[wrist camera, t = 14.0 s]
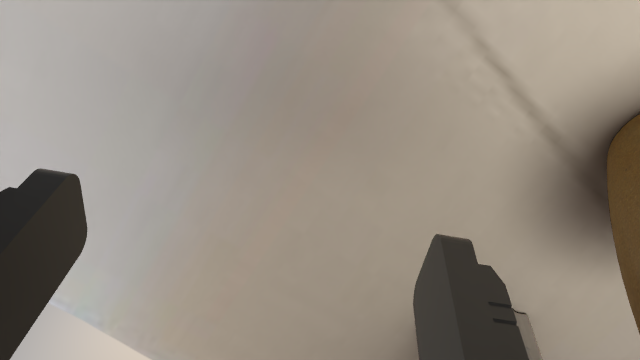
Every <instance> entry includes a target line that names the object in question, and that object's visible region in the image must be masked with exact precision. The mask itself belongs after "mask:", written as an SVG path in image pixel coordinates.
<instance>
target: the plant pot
mask: <svg viewBox="0 0 640 360" xmlns="http://www.w3.org/2000/svg"><path fill="white" fill-rule="evenodd" d="M607 189H608V201H609V211H610V219H611V225H612V231H613V238H614V243H615V248H616V253H617V258H618V262H619V266H620V270H621V274H622V278H623V282H624V285H625V289H626V292H627V296H628V300H629V303H630V306H631V309H632V312H633V315H634V318H635V321H636V324H637V327H638V330H639V333H640V114H639V115H638V116H636V117H634V118H633V119H632V120H630V121H629V122H628V123H627V124H626V125H625V126H623V127H622V129H621V130H620V131H619V132H618V133H617V134H616V136H615V137H614V139H613V141H612V143H611V145H610V147H609V151H608V155H607Z"/></svg>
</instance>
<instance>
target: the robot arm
mask: <svg viewBox="0 0 640 360" xmlns="http://www.w3.org/2000/svg"><path fill="white" fill-rule="evenodd" d="M86 237H87V223H86V216H85V210H84V204H83V198H82V191H81V185H80V180H79V178H78V176H77V175H75V174H71V173H65V172H58V171H52V170H46V169H37V170H35V171H34V172H33V173H32V174H31V175H30V176H29V177H28V178H27V179H26V180H25V181H24V182H23V183H22V184H21V185H20V186H19V187H18V188H11V187H9V188H7V189H5V190H3V191H1V192H0V360H9V359H10V358H11V357H12V355H13V354H14V352H15V351H16V349H17V347H18V346H19V345H20V343H21V342H22V340H23V339H24V337H25V336H26V334H27V333H28V331H29V330H30V328H31V327H32V325H33V324H34V322H35V321H36V319H37V318H38V316H39V315H40V313H41V312H42V310H43V309H44V307H45V306H46V304H47V303H48V302H49V300H50V299H51V297H52V296H53V294H54V293H55V291H56V290H57V288H58V287H59V285H60V284H61V282H62V281H63V279H64V278H65V276H66V275H67V273H68V272H69V270H70V269H71V267H72V266H73V264H74V263H75V261H76V260H77V258H78V257H79V255H80V254H81V252H82V250H83V248H84V245H85V242H86ZM413 306H414V316H415V325H416V334H417V343H418V352H419V360H543V358H542V355H541V353H540V350H539V347H538V344H537V341H536V338H535V336H534V333H533V330H532V327H531V324H530V321H529V319H528V316H527V315H526V314H519V313H516V312H515V311H514V310H513V309H511V306H512V305H511V301H510V298H509V295H508V292H507V289H506V286H505V284H504V283H503V282H502V280H501V279H500V278H499V276H498V275H497V274H496V273H495V271H494V270H493V269H492V267H491V266H487V265H481V264H478V263H477V259H476V255H475V252H474V248H473V245H472V242H471V241H470V240H469V239H463V238H457V237H451V236H445V235H439V234H436V235H435V236H434V238H433V240H432V242H431V245H430V247H429V250H428V252H427V255H426V258H425V260H424V263H423V265H422V268H421V271H420V273H419V276H418V279H417V281H416V285H415V290H414V301H413Z"/></svg>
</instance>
